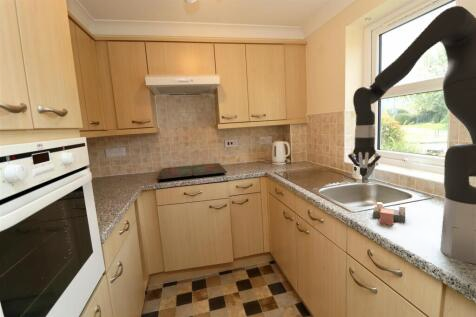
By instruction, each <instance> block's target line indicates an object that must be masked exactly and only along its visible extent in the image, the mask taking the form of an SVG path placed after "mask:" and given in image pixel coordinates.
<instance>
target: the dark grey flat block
mask: <svg viewBox="0 0 476 317" xmlns="http://www.w3.org/2000/svg"><path fill="white" fill-rule="evenodd" d="M382 209H388V210H394V219H393V222H394V221H395V222H402V223H406V212H405V213H400V212H399V209H393V208H392V209H391V208H386V207H385V208H384V207H382ZM380 211H381V210H379V209H377V206H374V208H373V211H372V218H377V219H380Z"/></svg>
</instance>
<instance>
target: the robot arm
mask: <svg viewBox="0 0 476 317" xmlns="http://www.w3.org/2000/svg"><path fill="white" fill-rule="evenodd" d="M439 43H441V45H442V46H443V49H444V51H445V55H446V60H447V66H446V71H445V73H444V76H443V80H442V94H443V98H444V103H445V107H446V108H447V110H449V112H450V113H451V114H452V115H453V116H454V117H455V118H456V119H457V120H458V121H459V122H460V123H461V124H463V126H465V128H466V130H467V132H468V133H469V136H470V139H471V143H459V144H457V143H455V144H452V145H450V146H449V147H448V148H447V150H446V152H445V156H444V168H443V169H444V176H443V178H444V179H443V186H444V193H445V195H444V201H443V202H444V203H443V204H444V205H443V215H442V226H441V234H440V236H441V237H440V251H441V253H443V254H444V255H445V256H447V257H448V258H449V259H450V260H454V261H455V260H456V261H460V262H464V263H469V264H473V265H476V186H473V185H471V184H470V177H473V178H475V177H476V16H475V15H474V14H472V13H471V12H470V11H469V10H468V9H466V7H464V6H461V5H454V6H451V7H448V8H446V9H444V10H443V11H442V12H440V13H439V14H438V15H437V16H436V17H435V18H433V19H432V21H430V23H429V24H428V25H427V26H426V27H424V30H422V32H420V34H418V36H417V37H416V38H415V39H414V40H413V41H412V42H411V43H410V45H409V46H408V47H406V49H405V50H404V51H403V52H402V53H401V54H400V55H399V56H398V57H397V58H396V59H395V60H394V61H393V62H391V63H390V64H388V65H387V66H386V67H385V68H384V69H383V70H382V71H381V72H380V73H379V74H377V75H376V76H375V78H374V81H373V83H371V85H369V86H361V87H359V88H357V89H355V91H354V93H353V97H352V102H353V107H354V108H353V109H354V112H355V130H354V148H353V150H352V152H351V153H348V155H347V157H348V158H349V159H350V161H351V162H352V163H353V164H354V166H355V167H359V176H361V177H366V176H367V175H368V169H369V168H371V167H373V166H374V165H375V164H376V163H377V162H378V161H379V160H380V159H381V157H382V155H381V154H379V153H377V150H376V149H375V146H376V145H375V144H376V114H375V111H374V110H372V105H373V104H374V103H376V102H378V101H379V100H380V99H381V98H382V97H384V95H386V94H387V92H388V91H389V90H390V89H392V88H393V87H394V86H395V85H396V84H398V83H399V82H401V81H403V79H405V77H407V75H409V74H410V72H412V69H414V67H415V66H416V64H417V63H418V61H419V60H420V59H421V58H422V57H423V55H424V54H425V53H426V52H427V51H429V50H430V49H431V48H433V47H434V46H435V45H436V44H439ZM355 157H356V158H357V159H356V158H355ZM372 158H374V159H372ZM370 159H372V161H371V162H370V163H369V161H370Z"/></svg>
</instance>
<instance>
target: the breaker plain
mask: <svg viewBox="0 0 476 317" xmlns="http://www.w3.org/2000/svg"><path fill="white" fill-rule="evenodd" d="M398 210H399V212H400V213H405V214H406V205H402V204H399V207H398Z"/></svg>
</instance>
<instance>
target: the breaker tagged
mask: <svg viewBox="0 0 476 317" xmlns="http://www.w3.org/2000/svg"><path fill="white" fill-rule="evenodd" d="M383 205H384V204H383V202H379V201H378V202H376V207H377V209H379V210H381V209H382V208H383Z"/></svg>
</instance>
